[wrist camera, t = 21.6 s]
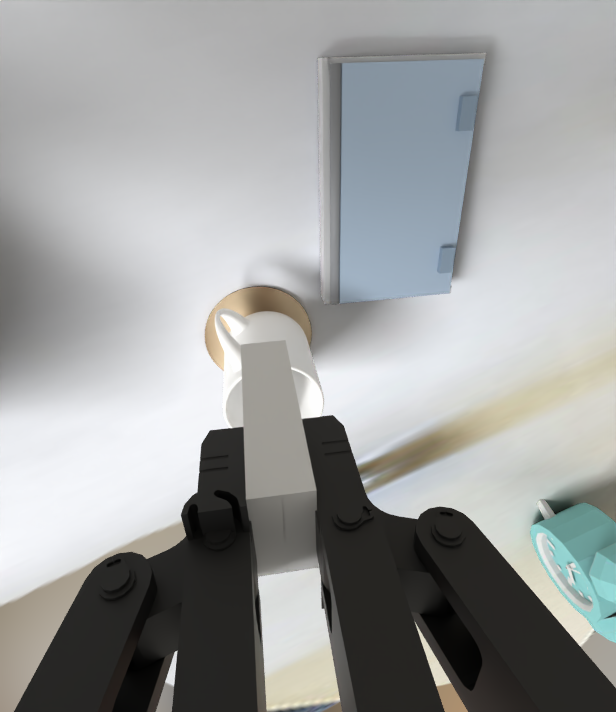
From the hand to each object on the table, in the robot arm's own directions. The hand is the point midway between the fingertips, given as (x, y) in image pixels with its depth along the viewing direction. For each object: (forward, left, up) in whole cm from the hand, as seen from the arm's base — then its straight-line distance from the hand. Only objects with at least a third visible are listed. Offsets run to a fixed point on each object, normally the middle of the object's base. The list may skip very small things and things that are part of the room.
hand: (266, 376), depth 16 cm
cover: (+13, 0, -26) cm, 29 cm away
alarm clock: (+44, -52, -29) cm, 74 cm away
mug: (0, -14, -28) cm, 31 cm away
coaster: (0, -14, -28) cm, 32 cm away
